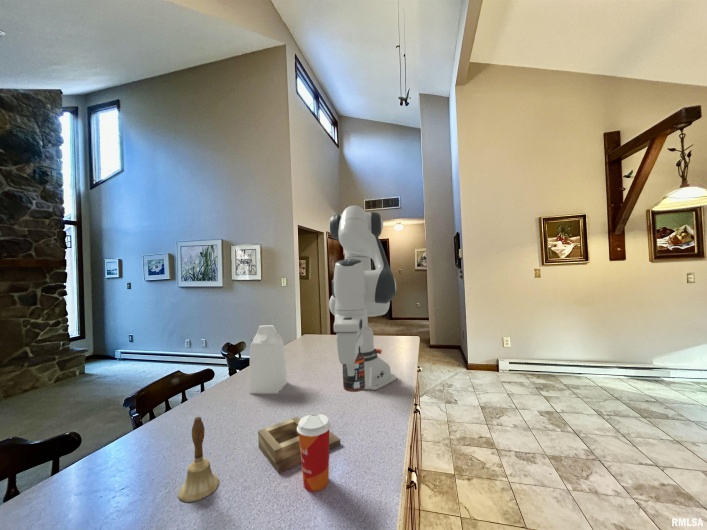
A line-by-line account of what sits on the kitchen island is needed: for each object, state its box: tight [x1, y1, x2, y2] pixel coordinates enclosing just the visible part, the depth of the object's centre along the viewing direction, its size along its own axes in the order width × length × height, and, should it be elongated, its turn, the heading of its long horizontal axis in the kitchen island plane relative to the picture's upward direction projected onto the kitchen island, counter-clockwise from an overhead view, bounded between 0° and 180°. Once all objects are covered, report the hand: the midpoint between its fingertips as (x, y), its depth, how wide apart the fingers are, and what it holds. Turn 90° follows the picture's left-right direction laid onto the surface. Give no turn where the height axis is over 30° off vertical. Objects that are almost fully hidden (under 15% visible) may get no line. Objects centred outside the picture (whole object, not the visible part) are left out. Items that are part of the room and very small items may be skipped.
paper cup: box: [297, 413, 332, 493], centre depth 69 cm, size 8×8×14 cm
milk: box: [248, 324, 288, 394], centre depth 127 cm, size 12×12×26 cm
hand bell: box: [177, 416, 220, 503], centre depth 68 cm, size 8×8×16 cm
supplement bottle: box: [341, 346, 365, 393], centre depth 81 cm, size 6×6×11 cm
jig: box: [257, 416, 341, 474], centre depth 83 cm, size 18×14×4 cm
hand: (353, 370), depth 81 cm, fingers closed on supplement bottle, 6 cm apart
